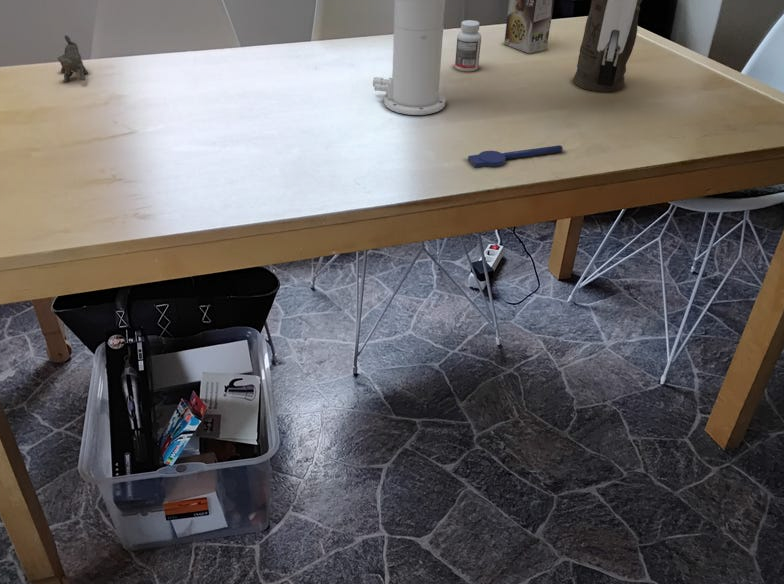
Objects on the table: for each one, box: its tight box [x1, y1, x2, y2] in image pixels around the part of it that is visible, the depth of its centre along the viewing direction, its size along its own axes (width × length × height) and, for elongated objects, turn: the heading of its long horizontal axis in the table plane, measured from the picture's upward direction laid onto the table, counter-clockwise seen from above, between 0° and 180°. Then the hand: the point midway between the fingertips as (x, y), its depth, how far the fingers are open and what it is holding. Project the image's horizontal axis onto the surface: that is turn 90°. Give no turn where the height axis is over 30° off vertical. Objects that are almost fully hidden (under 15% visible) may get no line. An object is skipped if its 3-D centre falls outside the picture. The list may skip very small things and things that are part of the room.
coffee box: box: [503, 0, 555, 54], centre depth 173 cm, size 9×6×16 cm
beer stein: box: [573, 0, 643, 93], centre depth 151 cm, size 15×11×20 cm
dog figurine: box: [57, 34, 89, 83], centre depth 156 cm, size 12×6×7 cm, turn 16°
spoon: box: [467, 144, 564, 168], centre depth 130 cm, size 18×5×1 cm, turn 108°
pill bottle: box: [454, 19, 482, 72], centre depth 163 cm, size 5×5×10 cm
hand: (605, 84), depth 147 cm, fingers closed
